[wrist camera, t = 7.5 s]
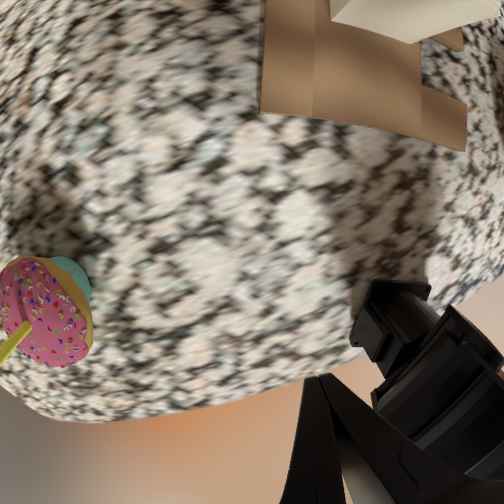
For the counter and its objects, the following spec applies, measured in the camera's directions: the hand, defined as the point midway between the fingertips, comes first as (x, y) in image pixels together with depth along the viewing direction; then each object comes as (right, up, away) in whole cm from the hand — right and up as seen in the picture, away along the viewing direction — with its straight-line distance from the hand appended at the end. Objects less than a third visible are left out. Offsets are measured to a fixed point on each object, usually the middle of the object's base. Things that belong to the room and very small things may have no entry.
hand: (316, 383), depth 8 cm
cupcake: (-17, +2, +11) cm, 20 cm away
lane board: (+7, +19, +6) cm, 21 cm away
